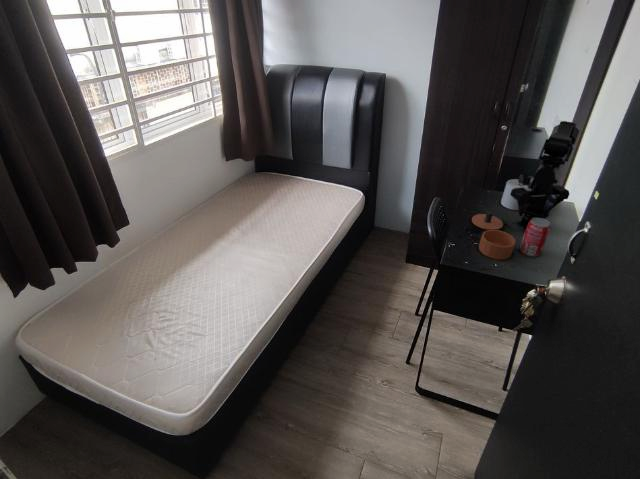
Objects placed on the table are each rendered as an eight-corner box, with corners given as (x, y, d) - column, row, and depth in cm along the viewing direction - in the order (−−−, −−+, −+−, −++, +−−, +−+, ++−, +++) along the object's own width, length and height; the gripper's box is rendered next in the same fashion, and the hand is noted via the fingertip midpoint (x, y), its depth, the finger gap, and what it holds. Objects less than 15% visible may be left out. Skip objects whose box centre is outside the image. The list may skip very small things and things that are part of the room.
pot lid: (492, 215, 163) (495, 204, 161) (508, 230, 154) (512, 219, 151) (466, 217, 162) (468, 206, 159) (480, 232, 152) (483, 221, 149)
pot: (500, 240, 147) (504, 228, 144) (517, 258, 138) (522, 245, 135) (473, 243, 146) (476, 231, 143) (488, 261, 136) (493, 248, 133)
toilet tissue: (495, 200, 174) (501, 180, 169) (518, 197, 177) (525, 177, 171) (510, 211, 166) (517, 191, 160) (534, 208, 168) (542, 188, 163)
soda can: (542, 259, 138) (555, 228, 130) (521, 256, 139) (532, 226, 132) (537, 247, 144) (549, 218, 136) (516, 245, 145) (527, 215, 137)
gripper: (556, 163, 137) (541, 202, 146) (508, 166, 134) (496, 205, 143) (578, 176, 128) (561, 217, 137) (527, 180, 125) (513, 221, 134)
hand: (532, 214), depth 138 cm, fingers open, 9 cm apart
